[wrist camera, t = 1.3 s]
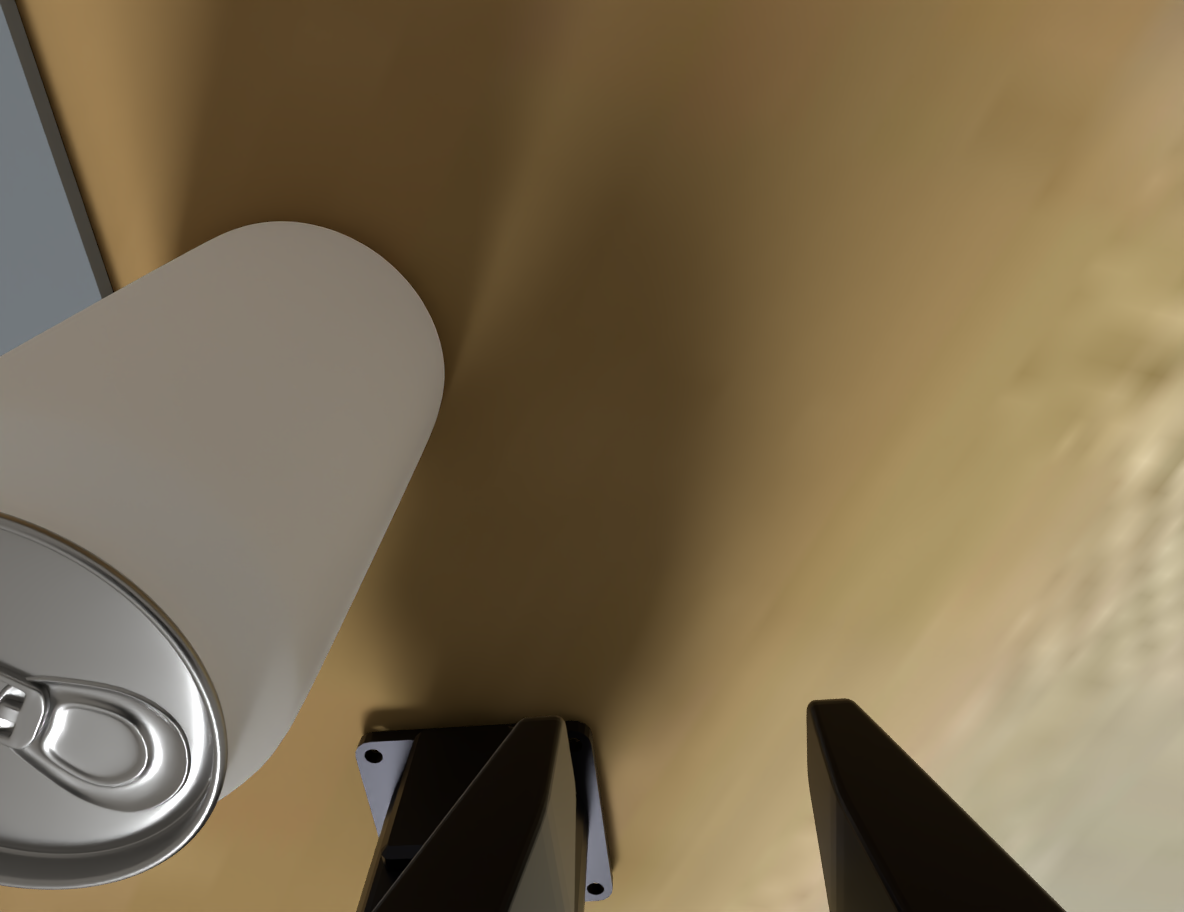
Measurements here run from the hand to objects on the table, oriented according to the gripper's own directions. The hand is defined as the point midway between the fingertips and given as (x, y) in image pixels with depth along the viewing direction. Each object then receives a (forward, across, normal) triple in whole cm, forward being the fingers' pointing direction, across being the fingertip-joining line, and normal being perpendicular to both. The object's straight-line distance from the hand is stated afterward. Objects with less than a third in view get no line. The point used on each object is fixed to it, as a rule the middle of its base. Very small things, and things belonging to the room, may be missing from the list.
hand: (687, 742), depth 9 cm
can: (+13, +8, 0) cm, 15 cm away
